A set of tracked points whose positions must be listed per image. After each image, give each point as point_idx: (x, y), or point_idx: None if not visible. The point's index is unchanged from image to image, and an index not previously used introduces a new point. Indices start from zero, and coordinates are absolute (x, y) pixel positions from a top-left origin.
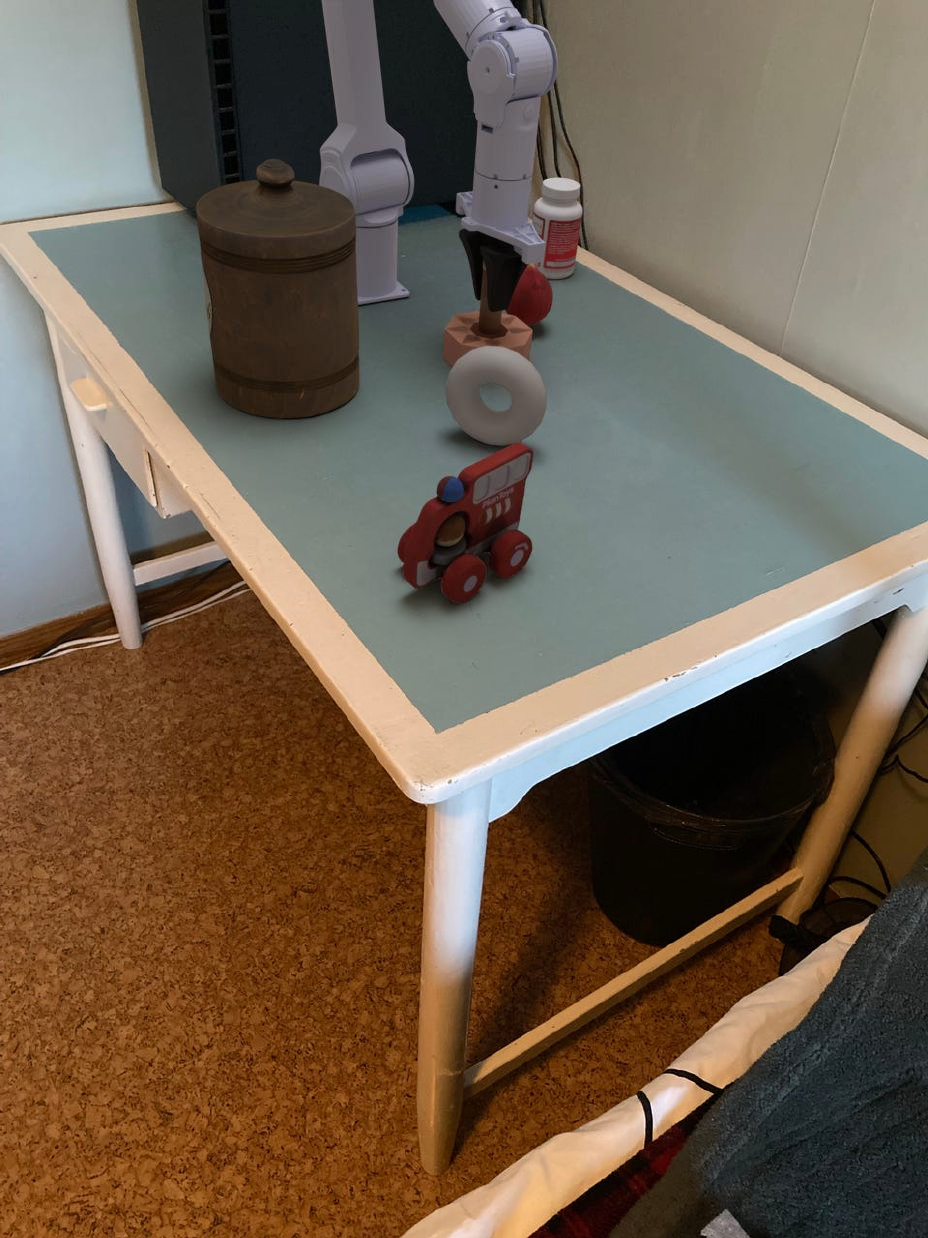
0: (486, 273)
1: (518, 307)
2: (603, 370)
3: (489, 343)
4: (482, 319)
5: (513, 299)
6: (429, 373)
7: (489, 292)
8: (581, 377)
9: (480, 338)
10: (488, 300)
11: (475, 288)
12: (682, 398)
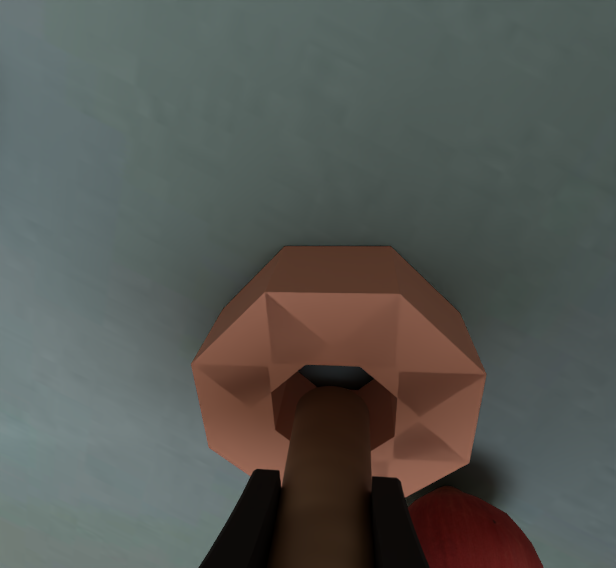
0: None
1: (421, 536)
2: (209, 512)
3: (243, 373)
4: (315, 422)
5: (444, 551)
6: (319, 161)
7: (232, 545)
8: (192, 471)
9: (284, 366)
10: (257, 503)
11: (385, 518)
12: (89, 549)
